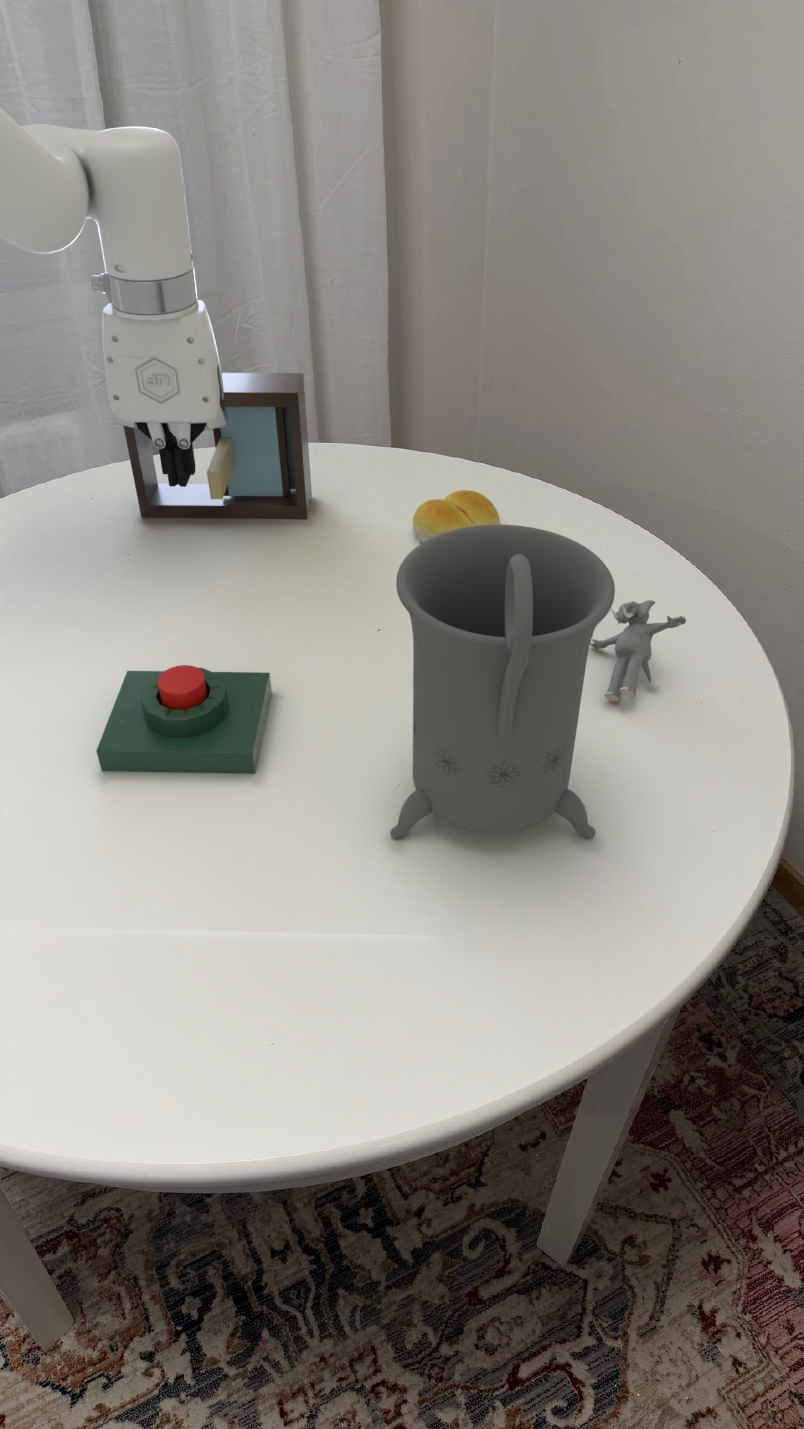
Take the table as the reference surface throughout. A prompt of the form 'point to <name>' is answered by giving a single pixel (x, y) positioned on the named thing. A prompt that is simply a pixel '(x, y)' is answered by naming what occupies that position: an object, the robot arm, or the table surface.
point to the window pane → (250, 454)
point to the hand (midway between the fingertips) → (180, 480)
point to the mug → (499, 673)
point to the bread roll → (453, 514)
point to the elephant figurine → (632, 646)
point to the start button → (182, 687)
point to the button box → (187, 726)
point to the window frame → (196, 497)
